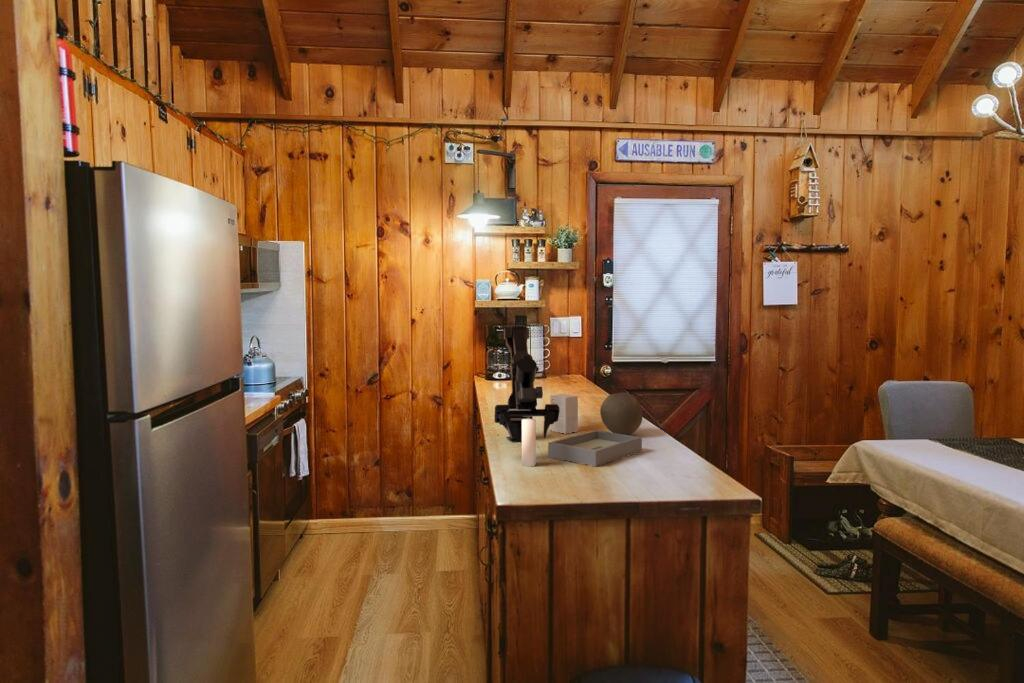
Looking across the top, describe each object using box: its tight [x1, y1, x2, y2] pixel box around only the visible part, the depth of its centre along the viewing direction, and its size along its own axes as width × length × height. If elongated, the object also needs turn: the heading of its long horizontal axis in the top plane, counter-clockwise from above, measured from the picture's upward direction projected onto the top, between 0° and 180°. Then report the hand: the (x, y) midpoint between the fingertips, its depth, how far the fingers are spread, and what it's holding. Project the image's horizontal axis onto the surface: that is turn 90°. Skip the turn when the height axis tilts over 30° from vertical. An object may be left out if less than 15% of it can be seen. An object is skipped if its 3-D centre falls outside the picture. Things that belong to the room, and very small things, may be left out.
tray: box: [547, 429, 643, 467], centre depth 199 cm, size 17×25×4 cm
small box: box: [549, 393, 579, 435], centre depth 233 cm, size 8×6×13 cm
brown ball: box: [599, 392, 644, 436], centre depth 226 cm, size 14×14×15 cm
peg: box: [521, 418, 537, 468], centre depth 186 cm, size 4×4×13 cm
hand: (528, 437), depth 186 cm, fingers open, 9 cm apart
